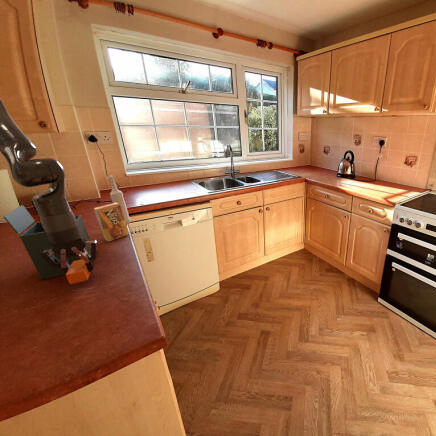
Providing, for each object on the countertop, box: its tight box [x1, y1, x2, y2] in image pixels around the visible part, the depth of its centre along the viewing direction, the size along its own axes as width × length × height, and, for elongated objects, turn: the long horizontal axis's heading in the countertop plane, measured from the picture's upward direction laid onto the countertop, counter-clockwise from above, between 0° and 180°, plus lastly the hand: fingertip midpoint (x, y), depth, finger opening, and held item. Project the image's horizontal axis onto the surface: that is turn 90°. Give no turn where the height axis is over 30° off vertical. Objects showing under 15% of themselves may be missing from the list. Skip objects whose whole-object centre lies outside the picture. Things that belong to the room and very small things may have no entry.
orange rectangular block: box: [65, 259, 91, 285], centre depth 80 cm, size 4×9×4 cm, turn 29°
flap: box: [3, 204, 36, 236], centre depth 80 cm, size 6×13×1 cm
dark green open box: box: [19, 215, 92, 280], centre depth 88 cm, size 13×13×16 cm
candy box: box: [93, 202, 130, 242], centre depth 109 cm, size 9×4×15 cm, turn 145°
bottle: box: [107, 175, 132, 225], centre depth 123 cm, size 5×5×25 cm
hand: (81, 273), depth 80 cm, fingers closed on orange rectangular block, 4 cm apart
